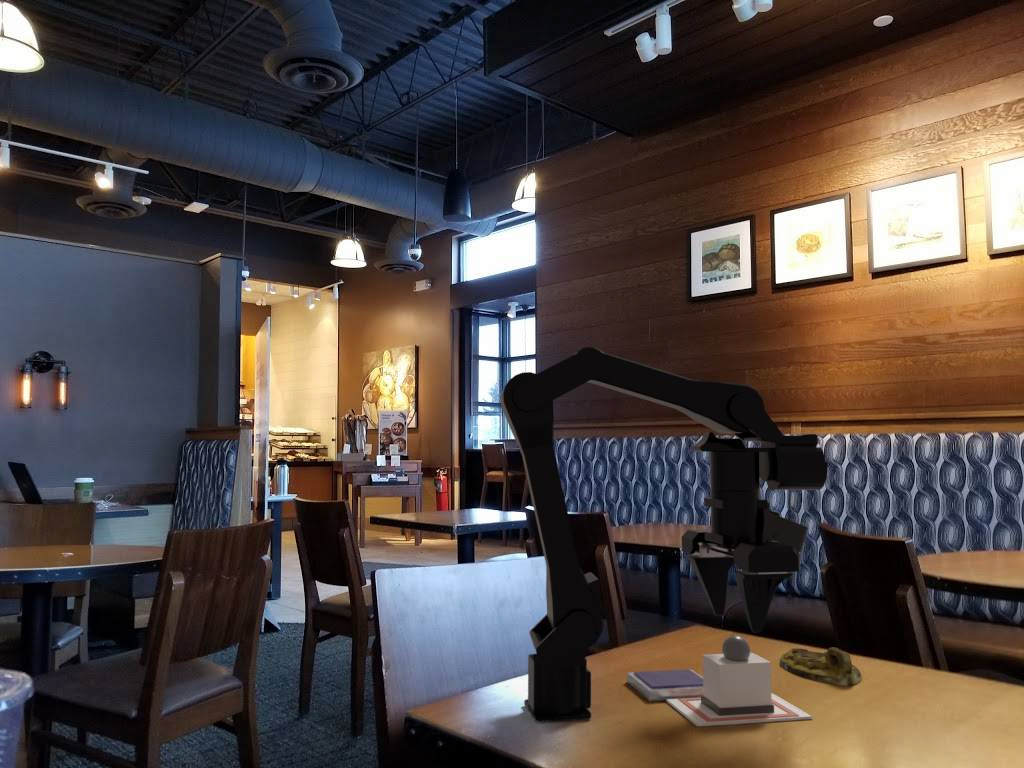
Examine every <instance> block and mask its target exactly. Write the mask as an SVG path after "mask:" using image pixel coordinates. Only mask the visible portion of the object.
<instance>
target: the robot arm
mask: <svg viewBox="0 0 1024 768" xmlns="http://www.w3.org/2000/svg"><path fill="white" fill-rule="evenodd" d="M586 383H588V384H592V385H597V386H600V387H603V388H606V389H610V390H613V391H615V392H620V393H623V394H626V395H628V396H632V397H636V398H638V399H641V400H645V401H649V402H652V403H656V404H658V405H663V406H665V407H668V408H672V409H675V410H677V411H678V412H681V413H683V415H686V416H687V417H689V418H690V419H692V420H694V421H695V422H698V423H699V424H701V425H703V426H705V427H707V428H709V429H710V430H712V431H707V432H705V433H704V434H703V435H702V437H701V439H700V440H699V441H697V442H696V443H695V444H694V445H692V447H691V449H692V451H693V452H698V453H699V452H701V453H703V452H705V453H706V452H709V468H710V469H709V470H710V471H709V478H710V481H709V483H710V484H709V485H710V486H709V487H710V491H709V492H710V494H709V495H710V497H703V499H704V500H703V502H704V503H703V506H704V507H707V508H708V507H709V508H710V528H709V529H687V530H686V531H685V532H684V534H683V535H682V536H681V552H682V553H683V552H684V553H686V560H688V562H689V563H690V566H691V567H692V569H693V571H694V573H695V575H696V577H697V579H698V581H699V583H700V585H701V587H702V589H703V592H704V593H705V595H706V598H707V600H708V602H709V605H710V607H711V609H712V611H713V613H714V615H715V616H724V615H725V611H726V604H727V594H728V583H729V573H730V570H731V568H732V567H733V566H734V565H735V566H736V569H737V570H733V575H734V578H735V582H736V585H737V588H738V592H739V595H740V600H741V602H742V606H743V609H744V612H745V615H746V619H747V622H748V625H749V628H750V630H751V632H752V633H762V632H763V630H764V626H765V623H766V620H767V616H768V614H769V610H770V606H771V604H772V600H773V598H774V595H775V593H776V590H777V588H778V586H780V584H783V582H784V581H785V580H787V579H791V578H792V577H793V576H794V574H795V573H798V572H801V571H802V568H801V567H802V565H801V553H802V550H803V547H804V543H805V541H806V537H807V533H808V530H809V527H808V526H806V525H804V524H801V523H800V522H799V523H798V522H795V521H793V520H790V519H788V518H786V517H782V516H781V513H780V512H778V511H774V510H772V509H770V508H771V506H770V503H769V501H768V499H765V498H762V499H761V487H760V486H761V483H760V481H762V482H766V483H765V484H767V486H768V488H769V489H770V490H773V491H820V490H822V489H823V488H824V486H825V485H826V482H827V479H828V478H827V477H828V472H829V471H828V468H829V467H828V461H827V460H826V457H825V454H824V451H823V449H822V446H821V445H820V443H819V438H818V437H819V436H818V434H817V433H800V434H796V435H790V434H789V435H784V434H783V433H782V431H781V429H780V428H779V427H778V426H777V425H776V423H775V421H773V419H772V418H771V417H770V415H769V414H768V412H767V411H766V410H765V409H766V408H765V403H764V400H763V398H762V396H761V393H760V392H759V390H757V389H756V388H755V387H753V386H751V385H749V384H744V383H738V382H737V383H736V382H728V381H720V380H705V379H704V380H703V379H693V378H689V377H685V376H682V375H680V374H676V373H673V372H669V371H666V370H663V369H659V368H657V367H653V366H649V365H646V364H643V363H640V362H637V361H633V360H630V359H626V358H625V357H624V358H623V357H621V356H617V355H613V354H612V353H611V354H610V353H608V352H604V351H602V350H600V349H599V348H598V347H595V346H586V347H582V348H580V349H579V350H578V351H577V352H575V353H574V354H573V355H572V356H569V357H567V358H565V359H564V360H562V361H559V362H557V363H555V364H553V365H551V366H549V367H548V368H546V369H543V370H542V371H540V372H538V373H535V372H532V371H531V372H530V371H529V372H528V371H527V372H526V371H525V372H523V371H522V372H520V373H518V374H516V375H514V376H513V377H511V378H510V379H509V380H508V381H507V382H506V384H505V386H504V387H503V388H502V391H501V392H500V406H501V408H502V409H501V410H502V411H503V414H504V417H505V419H506V421H507V424H508V426H509V429H510V431H511V433H512V435H513V437H514V439H515V442H516V444H517V446H518V449H519V451H520V454H521V456H522V461H523V466H524V470H525V471H524V472H525V475H526V478H527V483H528V484H527V485H528V488H529V492H530V493H529V494H530V497H531V502H532V507H533V511H534V516H535V519H536V520H535V521H536V525H537V529H538V530H537V531H538V534H539V539H540V544H541V548H542V551H543V557H544V562H545V567H546V569H545V570H546V571H545V572H546V574H545V575H546V580H545V581H546V582H545V585H546V586H545V593H546V594H545V596H546V597H545V598H546V614H545V615H544V616H543V618H541V619H540V621H538V622H537V623H536V624H535V625H534V626H533V627H532V628H531V629H530V630H529V633H528V634H529V636H530V639H531V642H532V645H533V648H534V649H535V652H536V653H531V654H528V659H527V660H528V661H527V662H528V663H527V668H528V669H527V671H528V672H527V673H528V674H527V676H528V677H527V688H528V689H527V699H525V700H524V701H523V703H524V706H525V707H526V709H527V711H528V712H529V713H530V715H531V717H532V718H533V719H534V721H536V722H553V721H570V720H585V719H587V720H589V719H591V718H592V712H591V711H590V710H589V709H590V708H591V707H592V672H591V671H590V670H589V669H588V667H587V664H588V663H587V661H588V660H587V658H586V657H587V654H588V651H589V649H590V648H591V647H592V646H593V645H595V644H596V643H597V642H598V640H599V639H600V637H601V635H602V634H603V633H604V618H603V616H605V617H607V616H609V614H608V613H609V612H607V610H606V609H605V607H604V604H603V601H602V592H601V591H602V590H601V581H600V579H598V578H597V576H596V575H594V573H592V572H591V571H590V572H587V573H584V571H583V569H582V566H581V564H580V561H579V558H578V553H577V549H576V543H575V539H574V534H573V530H572V525H571V521H570V516H569V511H568V508H567V502H566V499H565V493H564V490H563V485H562V481H561V476H560V475H561V474H560V471H559V467H558V461H557V458H556V453H555V449H554V431H555V430H554V428H555V427H554V425H555V424H554V422H555V420H554V419H555V417H554V416H555V415H554V414H555V413H554V400H556V399H558V398H561V397H562V396H564V395H565V394H567V393H570V392H571V391H573V390H574V389H576V388H578V387H580V386H582V385H584V384H586ZM713 431H714V432H717V433H719V434H731V435H734V436H735V437H736V438H727V437H724V438H723V437H722V438H721V437H720V438H719V437H717V436H716V435H715V433H714V432H713ZM745 442H753V443H754V442H758V443H760V447H746V444H745Z"/></svg>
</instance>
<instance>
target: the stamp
mask: <svg viewBox="0 0 1024 768" xmlns="http://www.w3.org/2000/svg"><path fill="white" fill-rule="evenodd" d="M721 647H722V648H721V651H722V653H714V654H713V653H712V654H702V677H703V695H702V696H701V703H702V704H704V705H705V706H707V707H708V708H709V709H711V710H712V711H713V712H715V713H716V714H717V715H719V716H725V715H742V714H758V713H774V705H773V704H772V703H771V693H772V664H771V662H772V661H770V660H768V659H766V658H764V657H761V656H759V655H757V654H756V653H754V652H751V647H750V644H749V642H748V641H747V640H746V639H745V638H744V637H742V636H740V635H731V636H728V637H727V638H726V639H724V641H723V643H722V646H721Z"/></svg>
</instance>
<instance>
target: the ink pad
mask: <svg viewBox="0 0 1024 768" xmlns="http://www.w3.org/2000/svg"><path fill="white" fill-rule="evenodd" d="M626 682H627V683H628V684H629V685H630V686H631V687H632V688H634V689H635V690H636V691H637V692H639V694H640V695H642V696H643V697H644V698H645V699H646V700H648V701H649V702H658V701H659V702H660V701H666V699H680V698H697V697H701V696H702V695H703V675H701V674H699V673H697V672H696V671H695V670H693V669H689V668H688V669H686V668H685V669H669V670H668V669H666V670H665V669H663V670H652V671H651V670H648V671H633V672H632V671H631V672H626Z"/></svg>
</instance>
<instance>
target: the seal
mask: <svg viewBox="0 0 1024 768" xmlns="http://www.w3.org/2000/svg"><path fill="white" fill-rule="evenodd" d="M779 665H780V666H781V667H782V668H783V669H784V670H786V671H788V672H790V673H792V674H795V675H797V676H800V677H802V678H805V679H808V680H813V681H817V682H821V683H826V684H833V685H840V686H849V687H850V686H855V685H857V684H860V683H861V682H862V680H863V676H862V674H861V672H860V670H859V668H858V667H857V666H856V665H854V664H853V663H852V659H851V655H850V654H849V653H848V652H847V651H844V650H842V649H839V648H838V647H834V646H832V647H829V648H828V649H827V651H824V652H819V651H810V650H808V649H805V648H801V647H800V648H799V647H797V648H795V647H794V648H793V647H792V648H791V649H789V650H788V651H787V652H785V653H783V654H782V655H781V657H780V658H779Z"/></svg>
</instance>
